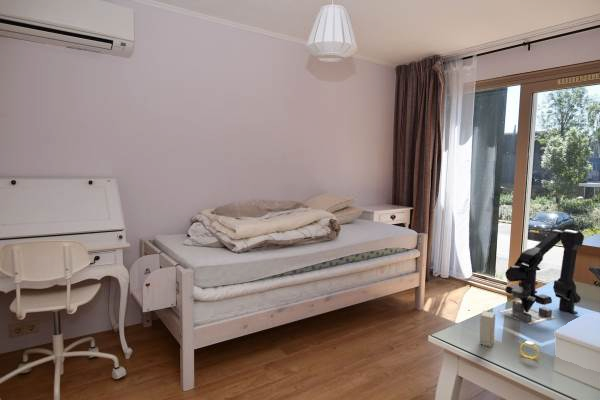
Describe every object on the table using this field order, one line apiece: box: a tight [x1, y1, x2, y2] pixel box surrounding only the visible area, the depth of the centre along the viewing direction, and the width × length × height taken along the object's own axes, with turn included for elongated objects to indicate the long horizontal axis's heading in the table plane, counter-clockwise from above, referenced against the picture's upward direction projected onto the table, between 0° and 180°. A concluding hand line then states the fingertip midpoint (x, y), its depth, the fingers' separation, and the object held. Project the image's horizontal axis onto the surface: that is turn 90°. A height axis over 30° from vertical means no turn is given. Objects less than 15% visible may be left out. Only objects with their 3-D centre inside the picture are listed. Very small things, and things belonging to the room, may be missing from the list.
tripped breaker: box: [511, 299, 525, 313], centre depth 175 cm, size 3×4×5 cm
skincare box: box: [479, 310, 496, 348], centre depth 147 cm, size 6×4×12 cm
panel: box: [497, 306, 557, 326], centre depth 171 cm, size 18×16×4 cm
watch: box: [519, 340, 540, 360], centre depth 136 cm, size 6×3×6 cm, turn 52°
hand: (526, 312), depth 171 cm, fingers closed
